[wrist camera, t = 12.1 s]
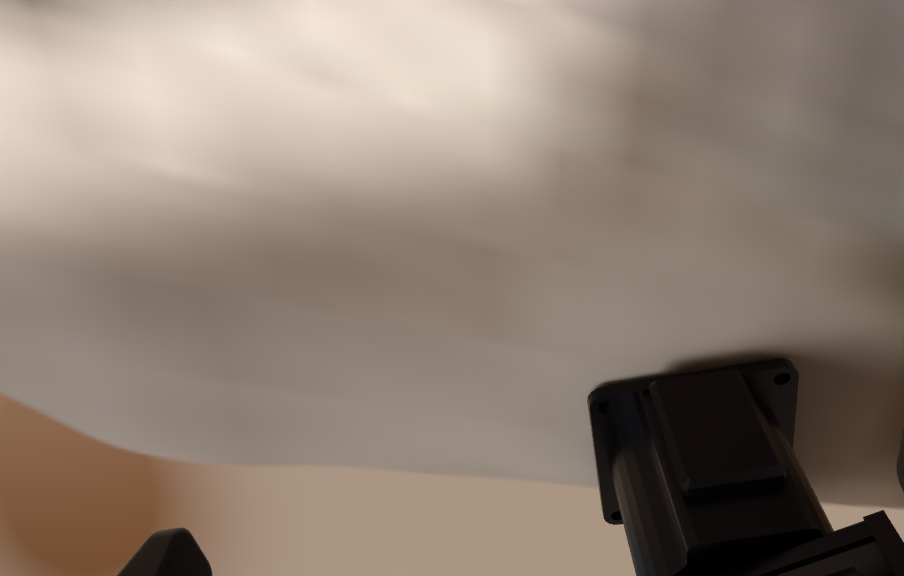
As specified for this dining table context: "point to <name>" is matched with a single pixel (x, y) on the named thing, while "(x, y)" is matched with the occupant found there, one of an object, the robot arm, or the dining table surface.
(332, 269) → the dining table surface
